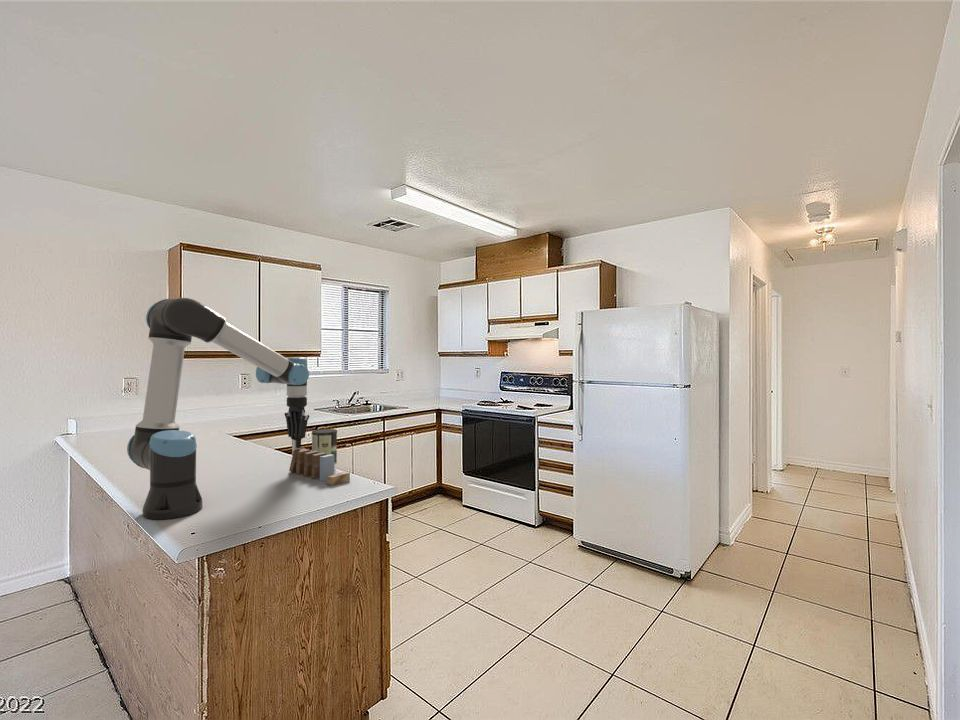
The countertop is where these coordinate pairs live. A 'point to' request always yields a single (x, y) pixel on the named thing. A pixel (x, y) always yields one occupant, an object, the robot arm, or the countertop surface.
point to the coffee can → (325, 442)
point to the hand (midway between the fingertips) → (296, 455)
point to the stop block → (338, 478)
